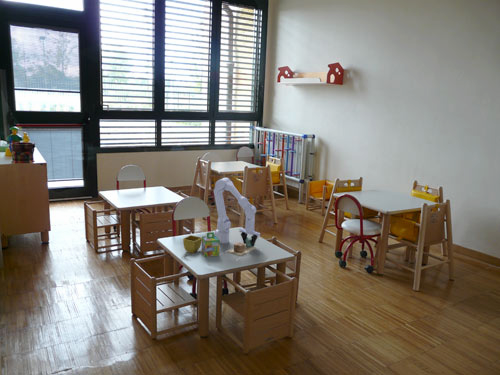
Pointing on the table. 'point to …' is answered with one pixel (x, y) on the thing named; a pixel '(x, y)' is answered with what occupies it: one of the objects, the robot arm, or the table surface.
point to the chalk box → (210, 245)
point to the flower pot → (192, 243)
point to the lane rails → (240, 257)
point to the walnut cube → (239, 247)
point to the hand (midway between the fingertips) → (249, 244)
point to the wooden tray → (247, 247)
